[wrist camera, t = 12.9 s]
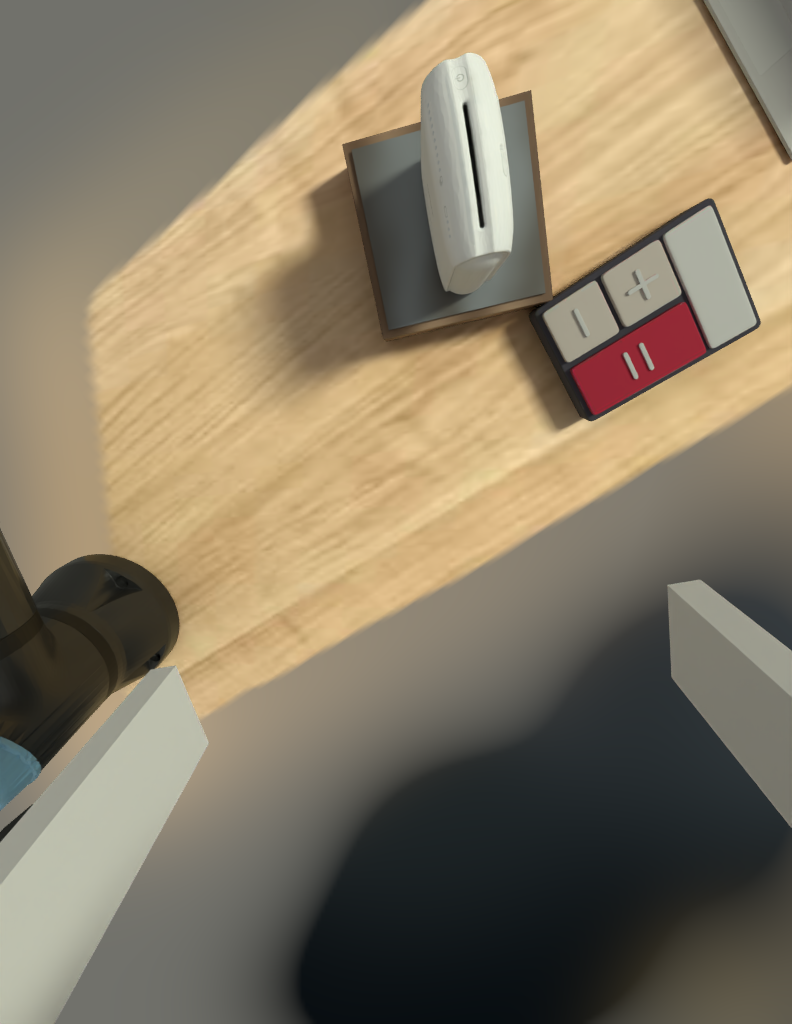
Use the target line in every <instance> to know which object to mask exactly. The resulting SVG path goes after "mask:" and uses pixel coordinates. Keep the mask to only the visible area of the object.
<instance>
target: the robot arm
mask: <svg viewBox="0 0 792 1024" xmlns="http://www.w3.org/2000/svg"><path fill="white" fill-rule="evenodd" d="M668 604H669V628H670V651H671V672H672V679H674V681H675V682H676V683H677V685H678V686H679V687H680V689H681V690H682V691H683V692H684V694H685V695H686V696H687V697H688V699H689V700H690V701H691V702H692V704H693V705H694V706H695V707H696V709H697V710H698V711H699V712H700V714H701V715H702V716H703V717H704V719H705V720H706V721H707V722H708V724H709V725H710V726H711V727H712V729H713V730H714V731H715V732H716V733H717V735H718V736H719V737H720V739H721V740H722V741H723V742H724V744H725V745H726V746H727V747H728V749H729V750H730V751H731V753H732V754H733V755H734V756H735V758H736V759H737V760H738V761H739V762H740V764H741V765H742V766H743V767H744V769H745V770H746V771H747V773H748V774H749V775H750V776H751V778H752V779H753V780H754V781H755V783H756V784H757V785H758V786H759V788H760V789H761V790H762V791H763V793H764V794H765V795H766V796H767V798H768V799H769V800H770V801H771V803H772V804H773V805H774V806H775V808H776V809H777V810H778V811H779V813H780V814H781V815H782V816H783V817H784V819H785V820H786V821H787V823H788V824H789V825H790V826H791V828H792V651H791V650H790V649H789V648H787V647H786V646H785V645H783V644H782V643H781V642H779V641H778V640H777V639H776V638H774V637H773V636H772V635H771V634H769V633H768V632H767V631H765V630H764V629H763V628H761V627H760V626H759V625H758V624H756V623H755V622H754V621H753V620H751V619H750V618H749V617H747V616H746V615H745V614H743V613H742V612H741V611H740V610H738V609H737V608H736V607H735V606H733V605H732V604H731V603H729V602H728V601H727V600H726V599H724V598H723V597H722V596H720V595H719V594H718V593H717V592H715V591H714V590H713V589H711V588H710V587H709V586H707V585H706V584H705V583H704V582H702V581H701V580H695V581H689V582H684V583H678V584H672V585H668ZM178 633H179V617H178V612H177V609H176V606H175V603H174V601H173V599H172V597H171V595H170V594H169V592H168V591H167V589H166V588H165V587H164V585H163V584H162V583H161V582H160V581H159V580H158V579H157V578H156V577H155V576H154V575H153V574H152V573H150V572H149V571H148V570H146V569H145V568H143V567H142V566H140V565H138V564H136V563H134V562H132V561H130V560H127V559H124V558H121V557H117V556H113V555H104V554H95V555H87V556H83V557H80V558H77V559H75V560H73V561H71V562H69V563H67V564H65V565H64V566H62V567H60V568H59V569H57V570H55V571H54V572H53V573H52V574H51V575H49V576H48V577H47V578H46V579H45V580H44V581H43V583H42V584H41V585H40V587H39V588H38V589H37V591H36V592H35V593H34V594H33V596H31V594H30V592H29V590H28V587H27V585H26V583H25V581H24V579H23V577H22V574H21V572H20V570H19V568H18V566H17V564H16V561H15V559H14V557H13V555H12V553H11V551H10V548H9V546H8V544H7V542H6V540H5V538H4V536H3V533H2V531H1V529H0V811H1V810H2V809H3V808H4V807H5V806H6V805H7V804H8V803H9V802H10V801H11V800H12V799H13V798H14V797H15V796H16V795H18V794H19V793H20V792H21V791H22V790H23V789H24V788H25V787H26V786H27V785H29V784H30V783H32V782H33V781H34V780H35V779H36V778H37V777H38V776H39V774H40V773H41V772H40V771H41V770H42V769H43V768H44V767H45V766H46V765H47V764H48V763H49V761H50V760H51V759H52V758H53V757H54V756H55V754H57V753H58V751H59V750H60V749H61V748H62V747H63V746H64V745H65V744H66V743H67V742H68V740H69V739H70V738H71V737H72V736H73V735H74V734H75V733H76V732H77V731H78V729H79V728H80V727H81V726H82V725H83V724H84V723H85V722H86V721H87V720H88V719H89V717H90V716H91V715H92V714H93V713H94V712H95V711H96V710H97V709H98V708H99V707H100V705H101V704H102V703H103V702H104V701H105V700H106V699H107V698H108V697H109V696H110V695H111V694H112V693H114V692H116V691H118V690H120V689H121V688H123V687H125V686H127V685H129V684H131V683H133V682H134V681H136V680H138V679H140V678H142V677H144V676H145V675H146V676H145V677H144V678H143V679H142V680H141V681H140V682H139V684H138V685H137V686H136V687H135V688H134V689H133V690H132V692H131V693H130V694H129V695H128V696H127V697H126V698H125V700H124V701H123V702H122V703H121V704H120V705H119V707H118V708H117V709H116V710H115V711H114V713H112V715H111V716H110V717H109V718H108V719H107V720H106V722H105V723H104V724H103V725H102V726H101V727H100V728H99V730H98V731H97V732H96V733H95V734H94V735H93V736H92V738H91V739H90V740H89V741H88V742H87V743H86V744H85V746H84V747H83V748H82V749H81V750H80V751H79V752H78V754H77V755H76V756H75V757H74V758H73V759H72V761H71V762H70V763H69V764H68V765H67V766H66V767H65V769H64V770H63V771H62V772H61V773H60V774H59V776H58V777H57V778H56V779H55V780H54V781H53V782H52V783H51V785H50V786H49V787H48V788H47V789H46V790H45V792H44V793H43V794H42V795H41V796H40V797H39V798H38V800H37V801H36V802H35V803H34V804H33V805H31V806H30V807H29V808H27V809H26V810H25V811H24V812H23V813H22V814H20V815H19V816H18V817H17V818H15V819H14V820H13V821H12V822H11V823H10V824H8V825H7V826H6V827H5V828H4V829H3V830H2V831H1V832H0V1024H55V1022H56V1020H57V1018H58V1016H59V1014H60V1013H61V1011H62V1009H63V1007H64V1005H65V1003H66V1002H67V1000H68V998H69V996H70V995H71V993H72V991H73V989H74V987H75V985H76V983H77V982H78V980H79V978H80V976H81V975H82V973H83V971H84V969H85V967H86V965H87V964H88V962H89V960H90V958H91V956H92V954H93V953H94V951H95V949H96V947H97V945H98V944H99V942H100V940H101V938H102V936H103V935H104V933H105V931H106V929H107V927H108V926H109V924H110V922H111V920H112V918H113V916H114V914H115V913H116V911H117V909H118V907H119V905H120V904H121V902H122V900H123V898H124V896H125V895H126V893H127V891H128V889H129V887H130V886H131V884H132V882H133V880H134V878H135V876H136V874H137V873H138V871H139V869H140V867H141V866H142V864H143V862H144V860H145V858H146V857H147V855H148V853H149V851H150V849H151V847H152V846H153V844H154V842H155V840H156V838H157V836H158V835H159V833H160V831H161V829H162V827H163V826H164V824H165V822H166V820H167V818H168V817H169V815H170V813H171V811H172V809H173V807H174V806H175V804H176V802H177V800H178V798H179V796H180V795H181V793H182V791H183V789H184V787H185V786H186V784H187V782H188V780H189V778H190V777H191V775H192V773H193V771H194V769H195V768H196V766H197V764H198V762H199V760H200V758H201V757H202V755H203V753H204V751H205V749H206V748H207V746H208V744H209V743H208V740H207V738H206V735H205V733H204V731H203V728H202V726H201V724H200V721H199V719H198V716H197V714H196V712H195V709H194V707H193V705H192V702H191V700H190V698H189V695H188V693H187V691H186V688H185V686H184V683H183V681H182V679H181V676H180V674H179V672H178V669H177V667H176V666H170V667H164V668H158V669H155V668H157V667H158V666H159V665H160V664H161V662H162V661H163V660H164V659H165V658H166V657H167V655H168V654H169V653H170V652H171V650H172V649H173V647H174V646H175V643H176V641H177V638H178Z"/></svg>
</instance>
